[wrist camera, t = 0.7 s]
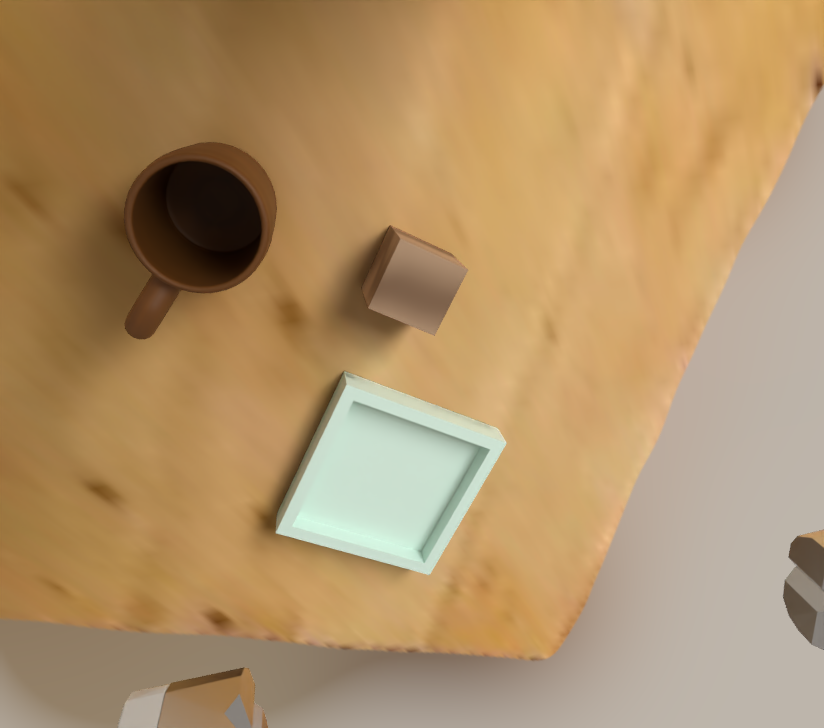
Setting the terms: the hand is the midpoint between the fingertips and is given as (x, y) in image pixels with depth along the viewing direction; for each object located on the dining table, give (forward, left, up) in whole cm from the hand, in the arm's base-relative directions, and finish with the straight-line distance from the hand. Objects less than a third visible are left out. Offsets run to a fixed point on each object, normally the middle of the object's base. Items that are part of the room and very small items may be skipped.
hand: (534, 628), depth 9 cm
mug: (+5, -9, -37) cm, 38 cm away
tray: (+18, +11, -37) cm, 42 cm away
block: (+2, +5, -37) cm, 37 cm away
